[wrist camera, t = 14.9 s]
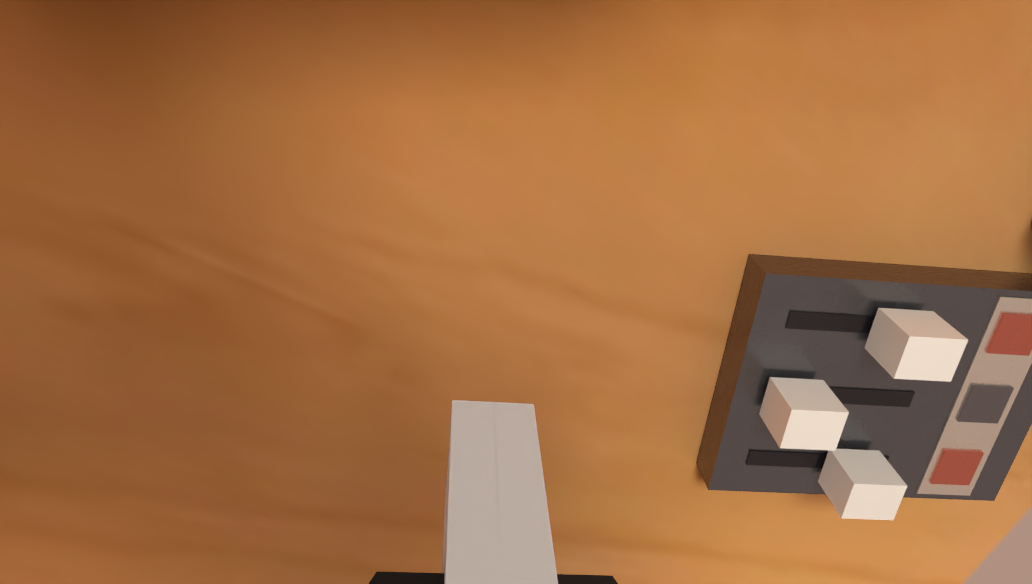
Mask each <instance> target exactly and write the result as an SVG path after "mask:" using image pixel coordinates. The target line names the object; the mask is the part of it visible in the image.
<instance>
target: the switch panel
mask: <svg viewBox="0 0 1032 584" xmlns="http://www.w3.org/2000/svg"><path fill="white" fill-rule="evenodd" d="M878 308H891V309H907V310H923V311H934V312H935V313H936V314H937V315H939V316H940V317H941V318H942V319H943V320H945V321H946V322H947V323H948V324H950V325H951V326H952V327H953V328H955V329H956V330H957V331H958V332H959V333H961V334H962V335H963V336H964V337H966V338H967V339H968V342H967V344H966V347H965V349H964V352H963V354H962V356H961V359H960V361H959V364H958V366H957V368H956V371H955V373H954V376H953V378H952V380H951V382H946V381H927V380H908V379H894V378H893V377H892V376H891V375H890V374H889V373H888V372H887V371H886V370H885V369H884V368H883V367H882V366H881V365H880V364H879V363H878V362H877V361H876V360H875V359H874V357H873V356H872V355H871V354H870V353H869V352H868V351H867V350H866V349H865V345H866V342H867V339H868V336H869V333H870V330H871V327H872V325H873V322H874V319H875V316H876V313H877V310H878ZM770 377H778V378H797V379H816V380H824V381H825V383H826V384H827V385H828V386H829V388H830V389H831V390H832V392H833V393H834V394H835V395H836V397H837V398H838V399H839V400H840V402H841V403H842V404H843V405H844V407H845V408H846V409H847V410H848V412H849V414H848V417H847V420H846V422H845V425H844V428H843V431H842V434H841V437H840V439H839V442H838V445H837V448H836V449H856V450H878V451H880V452H881V453H882V454H883V456H884V457H885V458H886V459H887V461H888V462H889V463H890V464H891V466H892V467H893V468H894V470H895V471H896V472H897V473H898V475H899V476H900V477H901V478H902V480H903V481H904V482H905V483H906V485H907V488H906V491H905V493H904V496H903V497H910V498H937V499H963V500H989V501H994V500H995V498H996V496H997V494H998V492H999V490H1000V488H1001V486H1002V483H1003V481H1004V479H1005V477H1006V475H1007V473H1008V471H1009V469H1010V467H1011V465H1012V463H1013V461H1014V459H1015V457H1016V455H1017V453H1018V451H1019V449H1020V446H1021V444H1022V442H1023V440H1024V438H1025V436H1026V434H1027V432H1028V430H1029V428H1030V426H1031V424H1032V274H1029V273H1015V272H1000V271H986V270H971V269H957V268H942V267H928V266H913V265H899V264H884V263H870V262H855V261H841V260H826V259H812V258H797V257H783V256H768V255H754V254H749V257H748V261H747V265H746V269H745V273H744V277H743V281H742V285H741V289H740V292H739V296H738V300H737V304H736V308H735V312H734V316H733V320H732V324H731V328H730V332H729V336H728V340H727V344H726V348H725V352H724V356H723V360H722V364H721V367H720V371H719V375H718V379H717V383H716V387H715V391H714V395H713V399H712V403H711V407H710V411H709V415H708V419H707V423H706V427H705V431H704V435H703V439H702V443H701V446H700V450H699V454H698V458H697V465H698V467H699V469H700V472H701V474H702V476H703V479H704V481H705V483H706V486H707V488H708V490H726V491H752V492H779V493H805V494H825V492H824V490H823V489H822V487H821V486H820V484H819V483H818V480H819V477H820V474H821V471H822V468H823V465H824V462H825V459H826V457H827V454H828V451H829V450H808V449H785V448H779V446H778V444H777V443H776V441H775V439H774V438H773V436H772V435H771V433H770V431H769V430H768V428H767V426H766V425H765V423H764V421H763V420H762V418H761V416H760V415H759V413H760V409H761V406H762V402H763V399H764V395H765V392H766V388H767V385H768V382H769V378H770Z"/></svg>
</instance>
